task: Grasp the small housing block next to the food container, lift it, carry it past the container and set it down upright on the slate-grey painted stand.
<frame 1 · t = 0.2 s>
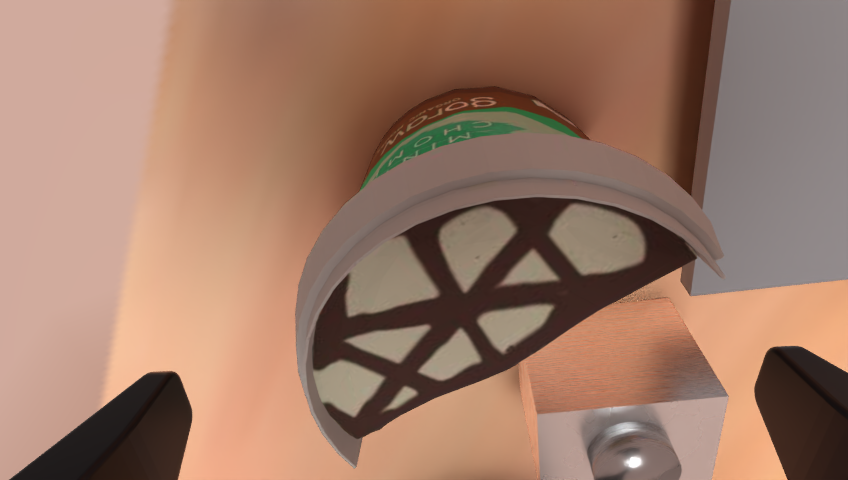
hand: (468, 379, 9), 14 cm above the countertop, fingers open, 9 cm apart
housing: (589, 345, 27), on the countertop
food container: (438, 146, 22), on the countertop
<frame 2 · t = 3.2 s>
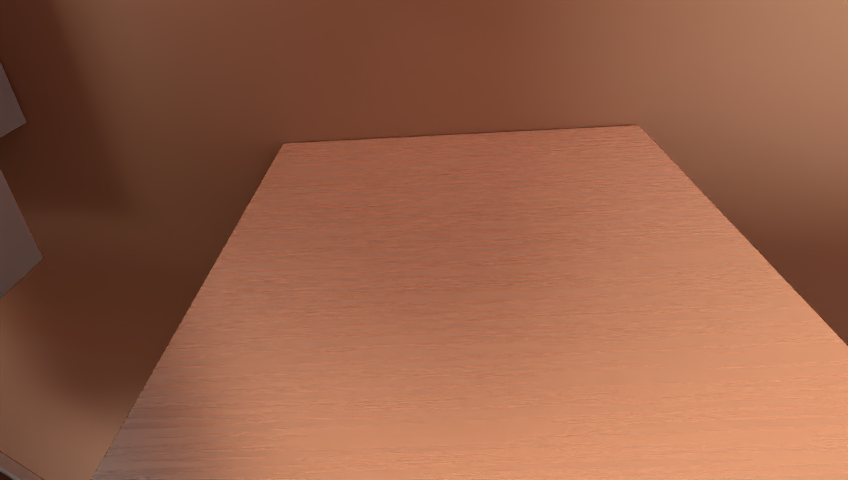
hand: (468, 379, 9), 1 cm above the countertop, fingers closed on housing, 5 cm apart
housing: (463, 327, 10), on the countertop, touching gripper
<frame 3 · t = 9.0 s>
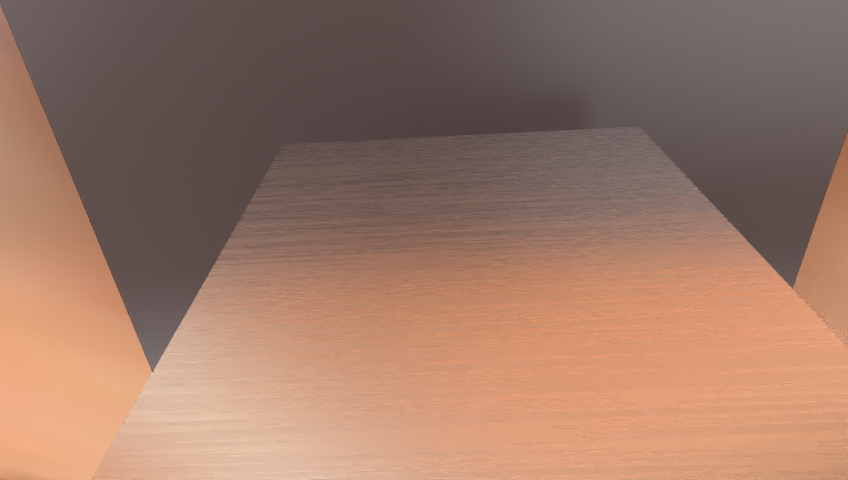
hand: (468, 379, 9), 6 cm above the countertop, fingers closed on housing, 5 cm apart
housing: (463, 328, 10), point 5 cm above the countertop, touching gripper
stand: (448, 195, 14), on the countertop
when the fingers open (6 cm above the countertop, at t = 10.3 s): housing drops 1 cm, resting on stand.
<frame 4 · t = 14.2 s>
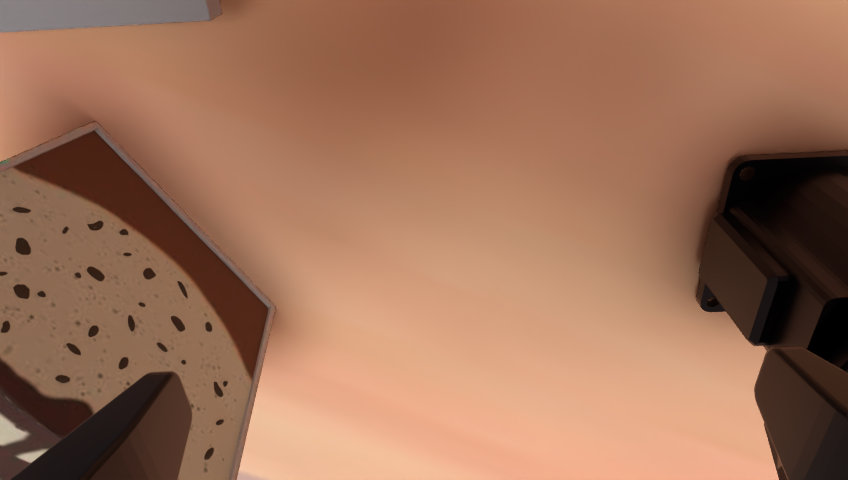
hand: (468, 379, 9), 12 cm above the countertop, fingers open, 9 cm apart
food container: (138, 256, 22), on the countertop
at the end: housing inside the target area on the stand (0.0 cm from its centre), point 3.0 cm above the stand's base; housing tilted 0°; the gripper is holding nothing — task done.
